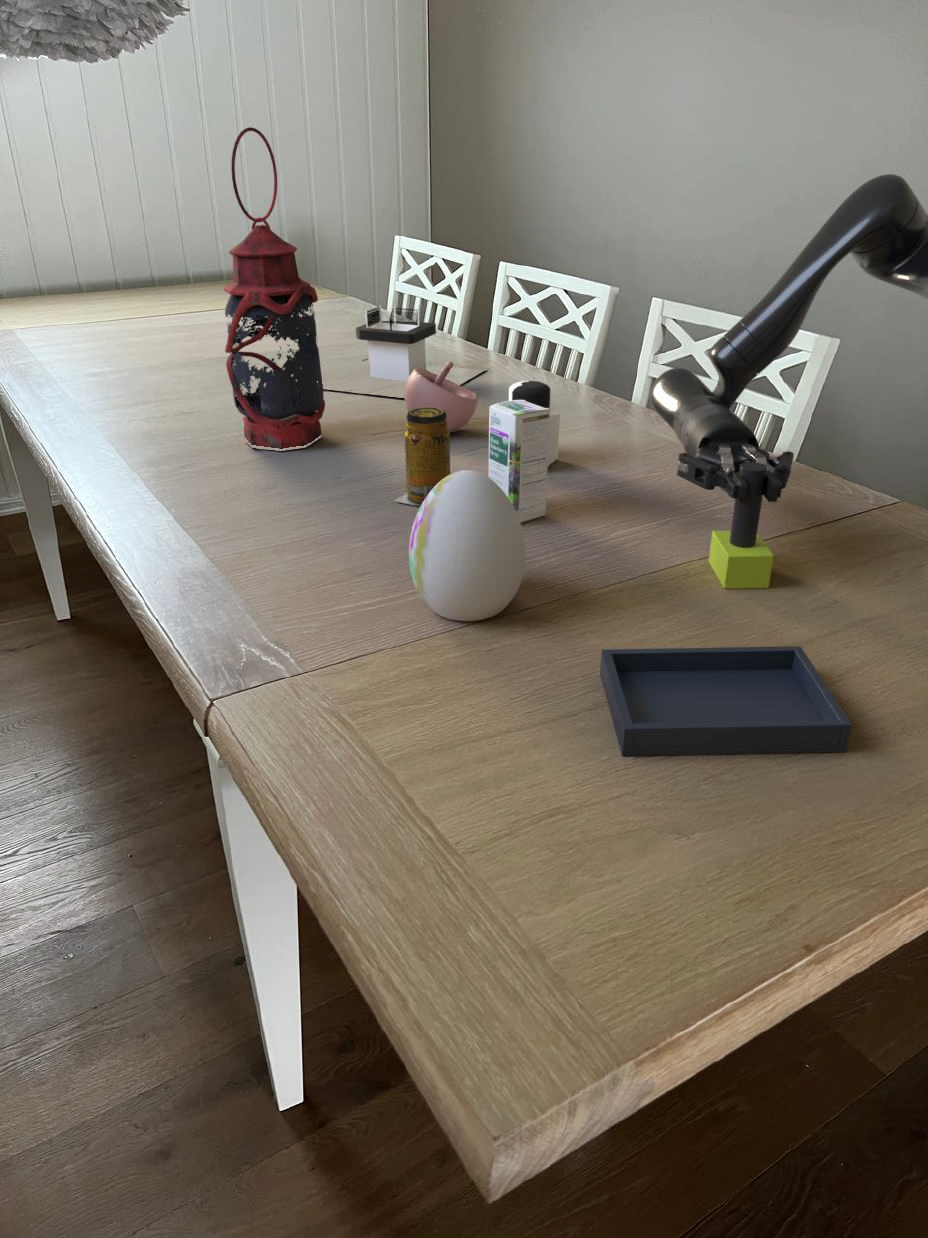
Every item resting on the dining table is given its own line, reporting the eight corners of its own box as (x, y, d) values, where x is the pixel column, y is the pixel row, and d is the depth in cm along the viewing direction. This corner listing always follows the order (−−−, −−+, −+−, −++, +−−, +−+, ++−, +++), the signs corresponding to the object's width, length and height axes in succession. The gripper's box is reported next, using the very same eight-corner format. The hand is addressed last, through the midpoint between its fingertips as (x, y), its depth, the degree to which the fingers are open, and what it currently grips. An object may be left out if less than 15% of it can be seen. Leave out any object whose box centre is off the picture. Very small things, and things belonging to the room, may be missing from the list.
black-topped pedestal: (488, 370, 189) (488, 302, 183) (432, 403, 168) (430, 327, 162) (368, 358, 199) (364, 293, 193) (301, 387, 179) (295, 316, 172)
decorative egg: (449, 570, 107) (446, 445, 100) (543, 594, 102) (548, 464, 95) (388, 614, 98) (381, 480, 91) (489, 643, 93) (489, 503, 85)
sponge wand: (750, 561, 109) (766, 455, 102) (768, 588, 103) (787, 477, 96) (708, 562, 109) (721, 455, 102) (723, 589, 102) (739, 477, 96)
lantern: (300, 459, 142) (267, 127, 120) (217, 450, 146) (171, 128, 124) (343, 429, 155) (320, 125, 133) (266, 422, 159) (232, 126, 137)
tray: (795, 671, 87) (800, 645, 86) (846, 752, 76) (852, 724, 75) (599, 674, 87) (601, 649, 86) (622, 756, 76) (624, 728, 75)
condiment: (420, 485, 132) (417, 402, 126) (473, 494, 128) (472, 409, 122) (393, 502, 126) (389, 416, 120) (448, 512, 123) (446, 424, 117)
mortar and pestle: (486, 439, 150) (486, 368, 144) (414, 446, 147) (411, 374, 141) (468, 418, 160) (467, 351, 154) (400, 424, 157) (396, 356, 152)
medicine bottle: (558, 459, 141) (562, 380, 135) (540, 473, 135) (542, 392, 129) (516, 452, 144) (517, 375, 138) (496, 466, 138) (496, 386, 132)
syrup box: (485, 512, 123) (486, 404, 116) (521, 502, 125) (523, 396, 118) (512, 526, 118) (514, 415, 111) (547, 515, 121) (551, 406, 114)
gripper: (662, 412, 111) (697, 460, 96) (779, 411, 111) (831, 458, 96) (657, 472, 115) (689, 527, 99) (769, 470, 115) (819, 525, 100)
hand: (759, 493), depth 98 cm, fingers closed on sponge wand, 2 cm apart
